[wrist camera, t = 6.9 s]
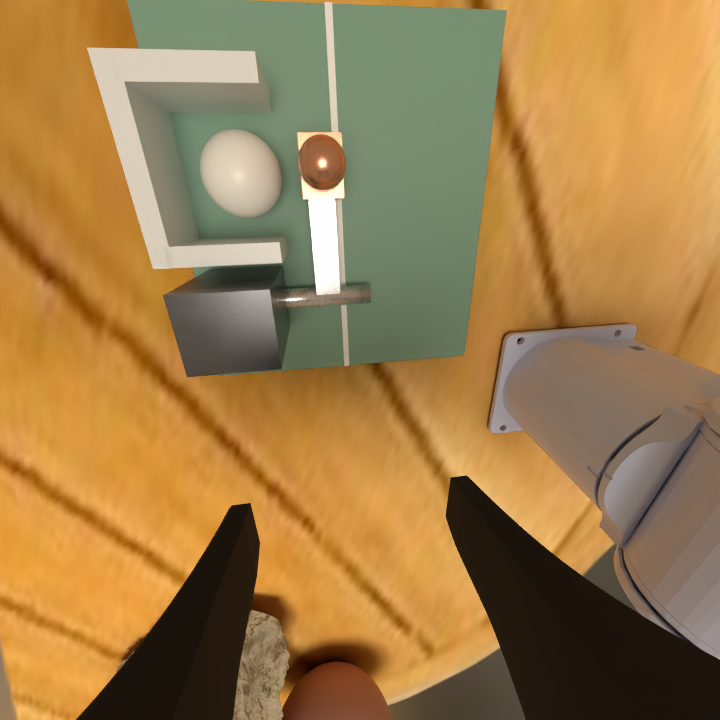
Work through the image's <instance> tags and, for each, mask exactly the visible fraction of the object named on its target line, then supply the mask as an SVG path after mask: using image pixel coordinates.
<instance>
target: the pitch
mask: <svg viewBox="0 0 720 720" xmlns="http://www.w3.org/2000/svg"><path fill="white" fill-rule="evenodd" d="M127 2H128V6H129V10H130V14H131V19H132V23H133V27H134V31H135V35H136V39H137V43H138V47H139V49H172V50H219V51H255V53H256V56H257V58H258V61H259V64H260V66H261V69H262V72H263V75H264V77H265V80H266V83H267V85H268V88H269V94H270V103H271V111H272V113H175V112H170V116H171V120H172V124H173V129H174V133H175V138H176V142H177V146H178V151H179V155H180V159H181V164H182V168H183V172H184V177H185V181H186V185H187V190H188V194H189V198H190V203H191V207H192V212H193V216H194V220H195V225H196V229H197V233H198V238H199V239H217V238H242V237H268V236H286V237H287V246H288V254H287V256H286V257H285V259H284V261H283V262H282V263H270V264H249V265H228V266H207V267H193V270H194V274H195V277H197V276H199V275H200V274H202V273H204V272H206V271H207V270H209V269H224V268H245V267H265V266H283V270H284V278H285V286H286V289H294V288H312V287H316V280H315V269H314V257H313V246H312V234H311V223H310V211H309V202H306V201H305V200H304V199H303V190H302V180H301V174H300V172H299V168H298V154H299V147H298V137H297V133H310V132H341V133H342V148H343V150H344V153H345V156H346V163H347V164H346V172H345V175H344V178H343V179H344V198H343V199H340V200H338V201H335V207H336V225H337V243H338V261H339V279H340V286H347V285H364V284H370V287H371V303H367V304H351V305H335V306H320V307H304V308H288V309H289V317H290V330H289V335H288V340H287V345H286V350H285V355H284V360H283V365H282V369H280V370H268V371H256V372H244V373H231V374H219V376H224V375H236V374H248V373H260V372H272V371H284V370H296V369H308V368H320V367H332V366H349V365H356V364H368V363H380V362H392V361H404V360H416V359H428V358H440V357H452V356H464V352H465V344H466V336H467V328H468V319H469V311H470V303H471V295H472V287H473V279H474V271H475V262H476V254H477V246H478V238H479V230H480V222H481V214H482V205H483V197H484V189H485V181H486V173H487V165H488V157H489V149H490V140H491V132H492V124H493V116H494V108H495V100H496V92H497V83H498V75H499V67H500V59H501V51H502V43H503V35H504V26H505V18H506V10H486V9H459V8H432V7H406V6H379V5H353V4H332V2H324V3H299V2H273V1H246V0H127ZM226 129H241V130H245V131H248V132H251V133H253V134H255V135H256V136H258V137H259V138H261V139H262V140H263V141H264V142H265V143H266V144H267V145H268V146H269V147H270V149H271V150H272V151H273V153H274V155H275V156H276V158H277V161H278V163H279V166H280V169H281V175H282V187H281V192H280V195H279V198H278V200H277V202H276V203H275V205H274V206H273V207H272V208H271V209H270V210H269V211H268V212H266V213H264V214H263V215H260V216H257V217H252V218H244V217H238V216H235V215H233V214H230V213H228V212H226V211H225V210H223V209H222V208H221V207H219V206H218V205H217V204H216V203H215V202H214V201H213V199H212V198H211V197H210V196H209V194H208V192H207V191H206V189H205V187H204V184H203V182H202V178H201V174H200V158H201V154H202V150H203V148H204V146H205V144H206V143H207V141H208V140H209V139H210V138H211V137H212V136H213V135H215V134H216V133H218V132H220V131H223V130H226Z"/></svg>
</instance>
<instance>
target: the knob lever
mask: <svg viewBox="0 0 720 720" xmlns="http://www.w3.org/2000/svg"><path fill="white" fill-rule="evenodd" d="M297 137H298V147H299V154H298V168H299V172H300V174H301V180H302V190H303V199H304V200H305V201H306V202H309V211H310V223H311V234H312V246H313V257H314V269H315V280H316V287H312V288H294V289H286V286H285V278H284V270H283V266H265V267H245V268H224V269H209V270H207V271H206V272H204V273H202V274H200V275H199V276H197V277H195V278H193V279H192V280H190V281H188V282H186V283H185V284H183V285H181V286H179V287H178V288H176V289H174V290H172V291H171V292H169V293H167V294H165V295H163V297H164V300H165V303H166V307H167V310H168V313H169V317H170V320H171V324H172V327H173V330H174V334H175V337H176V341H177V344H178V347H179V351H180V354H181V357H182V361H183V364H184V368H185V371H186V374H187V377H195V376H207V375H219V374H231V373H244V372H256V371H268V370H280V369H282V365H283V360H284V355H285V350H286V345H287V340H288V335H289V330H290V317H289V309H288V308H304V307H320V306H335V305H351V304H367V303H371V287H370V284H364V285H347V286H340V279H339V261H338V243H337V225H336V207H335V201H338V200H340V199H343V198H344V179H343V178H344V175H345V172H346V164H347V163H346V156H345V153H344V150H343V148H342V133H341V132H310V133H297Z"/></svg>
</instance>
